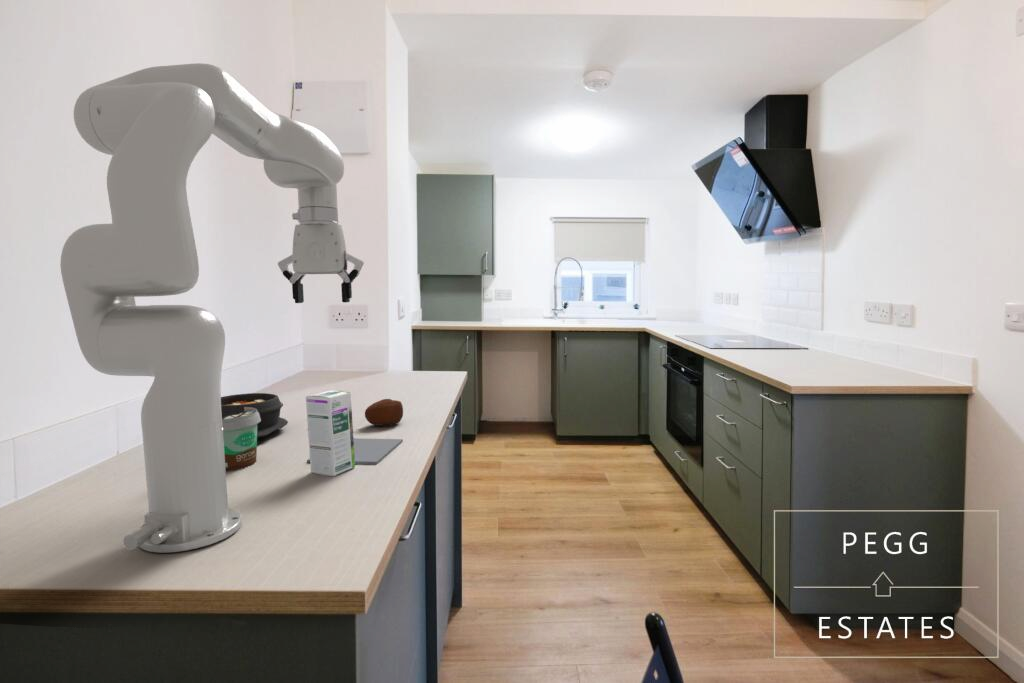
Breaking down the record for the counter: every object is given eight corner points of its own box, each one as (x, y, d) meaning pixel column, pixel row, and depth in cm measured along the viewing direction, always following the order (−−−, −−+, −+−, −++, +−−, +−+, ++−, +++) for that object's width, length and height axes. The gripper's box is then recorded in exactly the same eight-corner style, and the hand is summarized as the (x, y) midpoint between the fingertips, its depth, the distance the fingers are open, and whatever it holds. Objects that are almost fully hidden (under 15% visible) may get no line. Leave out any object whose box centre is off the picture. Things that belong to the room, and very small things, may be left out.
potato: (406, 426, 139) (405, 400, 139) (366, 430, 136) (365, 403, 136) (401, 420, 146) (400, 395, 145) (363, 424, 143) (362, 398, 142)
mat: (376, 464, 110) (376, 461, 110) (307, 462, 112) (306, 460, 112) (402, 441, 126) (402, 439, 126) (341, 440, 128) (341, 438, 128)
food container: (235, 476, 105) (232, 421, 104) (206, 474, 106) (202, 420, 105) (276, 456, 117) (273, 407, 116) (249, 454, 118) (246, 406, 117)
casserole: (285, 444, 126) (283, 406, 125) (189, 453, 120) (186, 413, 119) (290, 419, 150) (289, 387, 149) (210, 425, 144) (208, 392, 143)
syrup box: (334, 477, 103) (330, 396, 102) (309, 473, 106) (305, 394, 105) (355, 467, 109) (352, 391, 107) (331, 464, 111) (327, 389, 110)
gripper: (268, 217, 115) (273, 303, 116) (356, 215, 115) (359, 302, 116) (283, 221, 122) (288, 302, 124) (365, 219, 122) (369, 301, 124)
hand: (322, 302), depth 120 cm, fingers open, 9 cm apart
